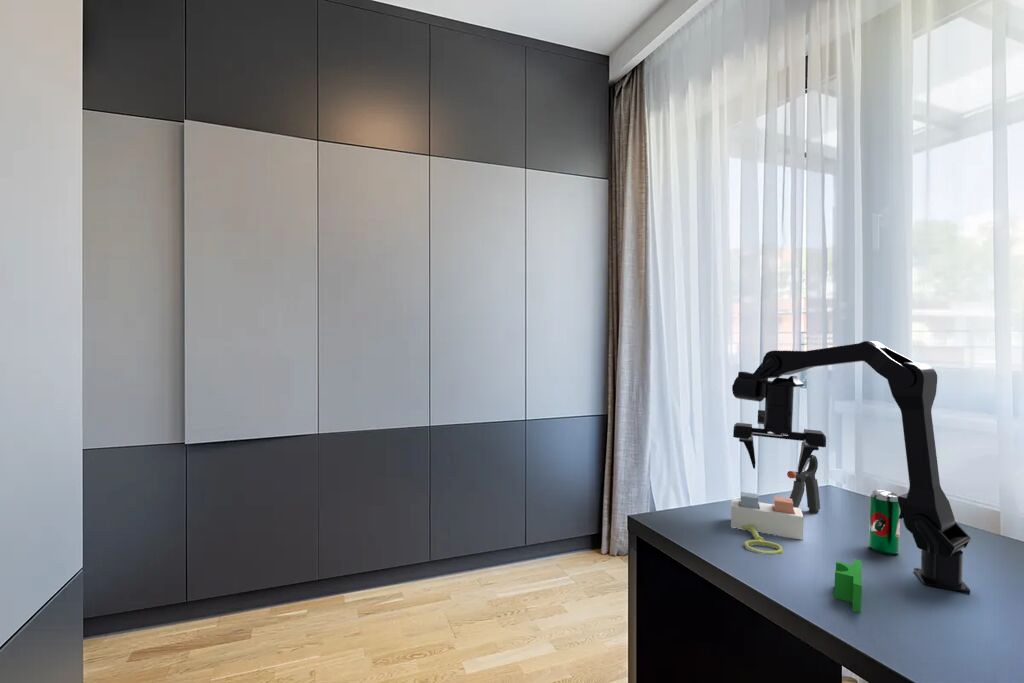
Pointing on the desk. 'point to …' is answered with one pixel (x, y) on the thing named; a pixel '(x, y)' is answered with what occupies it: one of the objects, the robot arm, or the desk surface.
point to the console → (768, 519)
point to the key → (760, 542)
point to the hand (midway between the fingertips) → (776, 471)
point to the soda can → (884, 522)
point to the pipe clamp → (849, 583)
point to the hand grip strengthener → (806, 480)
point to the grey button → (749, 500)
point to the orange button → (783, 505)
